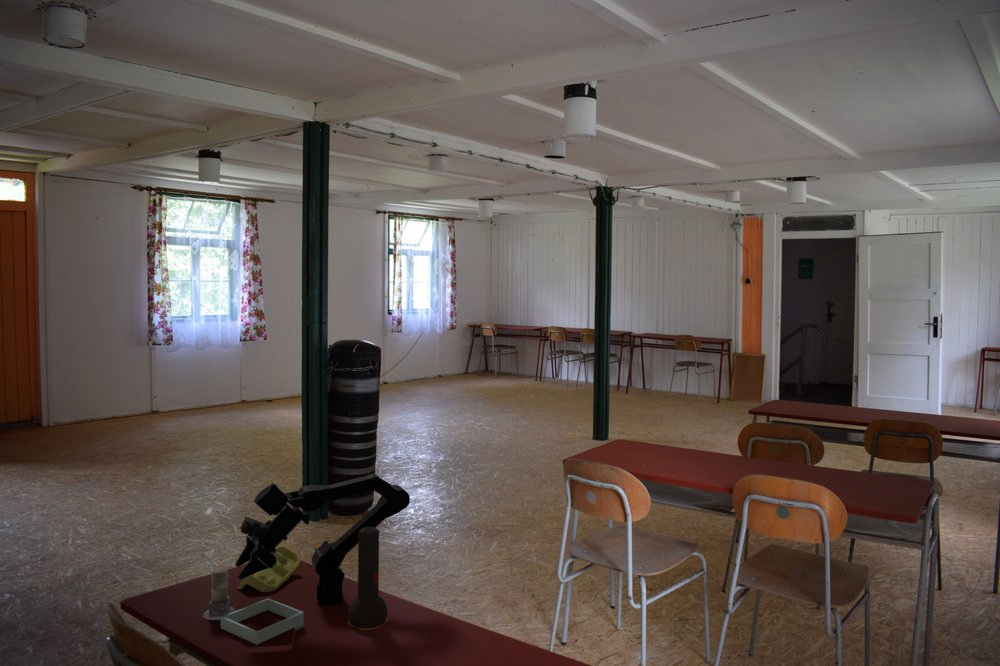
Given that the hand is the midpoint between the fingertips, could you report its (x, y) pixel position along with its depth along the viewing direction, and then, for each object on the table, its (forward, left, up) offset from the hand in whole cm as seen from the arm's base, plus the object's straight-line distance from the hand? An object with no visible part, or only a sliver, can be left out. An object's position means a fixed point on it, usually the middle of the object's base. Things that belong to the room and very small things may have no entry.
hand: (237, 571), depth 190 cm
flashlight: (-34, +9, -11) cm, 37 cm away
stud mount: (+4, +1, -11) cm, 12 cm away
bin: (-8, +10, -11) cm, 17 cm away
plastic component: (-6, -21, -12) cm, 25 cm away
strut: (+4, +1, -10) cm, 11 cm away
